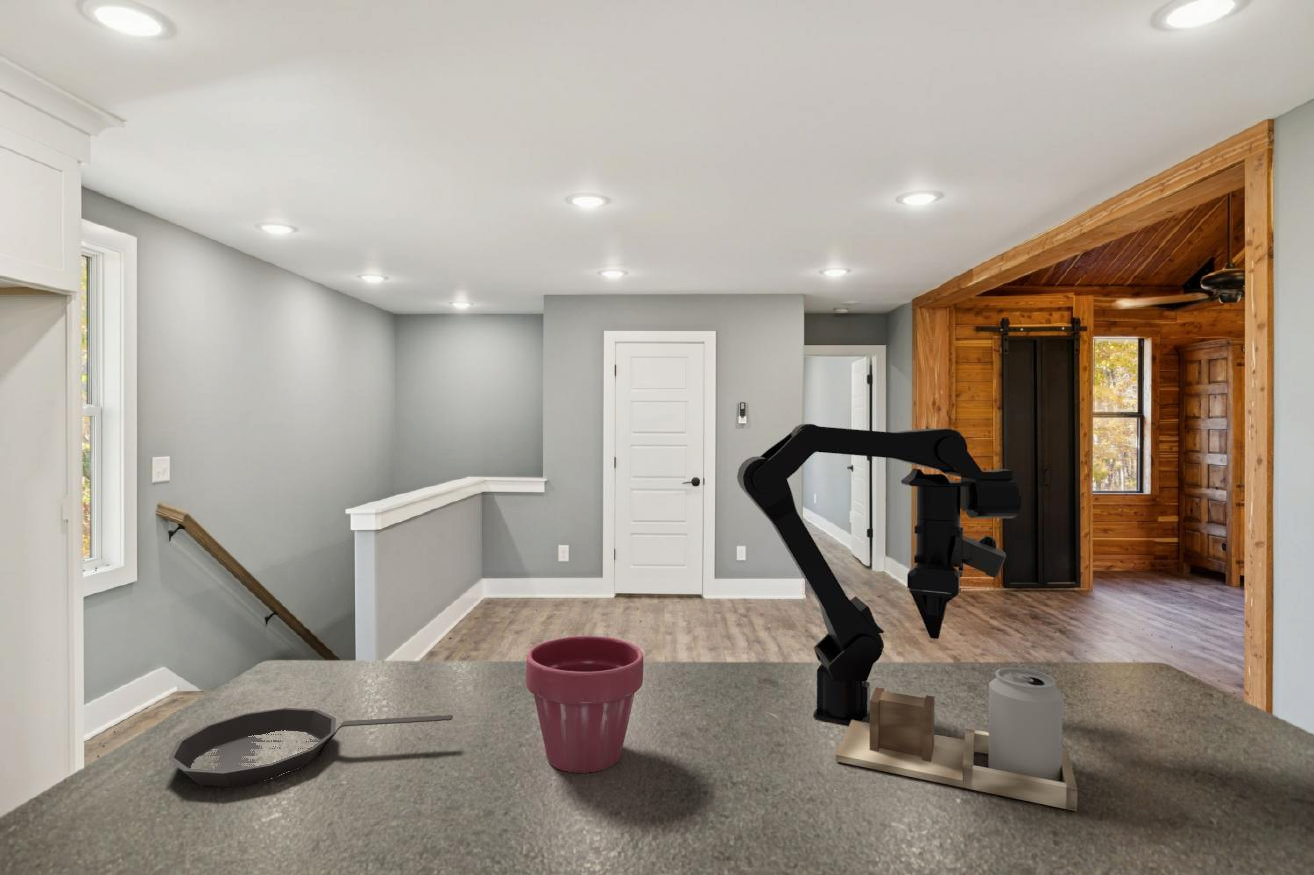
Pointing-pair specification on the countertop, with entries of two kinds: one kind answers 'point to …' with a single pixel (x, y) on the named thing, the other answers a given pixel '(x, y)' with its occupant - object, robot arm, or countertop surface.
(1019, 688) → the can
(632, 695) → the plant pot
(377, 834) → the countertop surface
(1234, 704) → the countertop surface
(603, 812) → the countertop surface
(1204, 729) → the countertop surface
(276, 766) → the frying pan
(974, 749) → the wooden divided tray
